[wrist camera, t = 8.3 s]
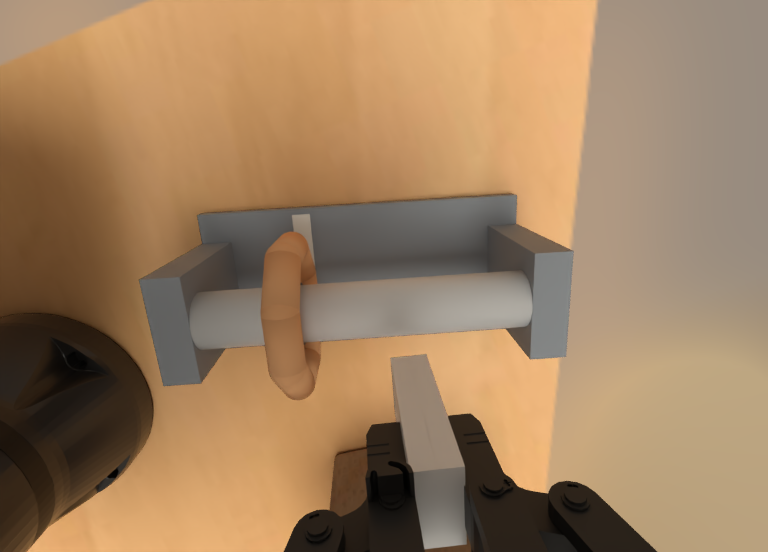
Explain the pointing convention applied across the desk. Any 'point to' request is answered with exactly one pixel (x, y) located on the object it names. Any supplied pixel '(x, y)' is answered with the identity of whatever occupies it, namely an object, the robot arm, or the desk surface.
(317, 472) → the desk surface
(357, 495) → the wooden block
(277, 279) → the o-ring
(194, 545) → the desk surface
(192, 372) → the pipe stand
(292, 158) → the desk surface
